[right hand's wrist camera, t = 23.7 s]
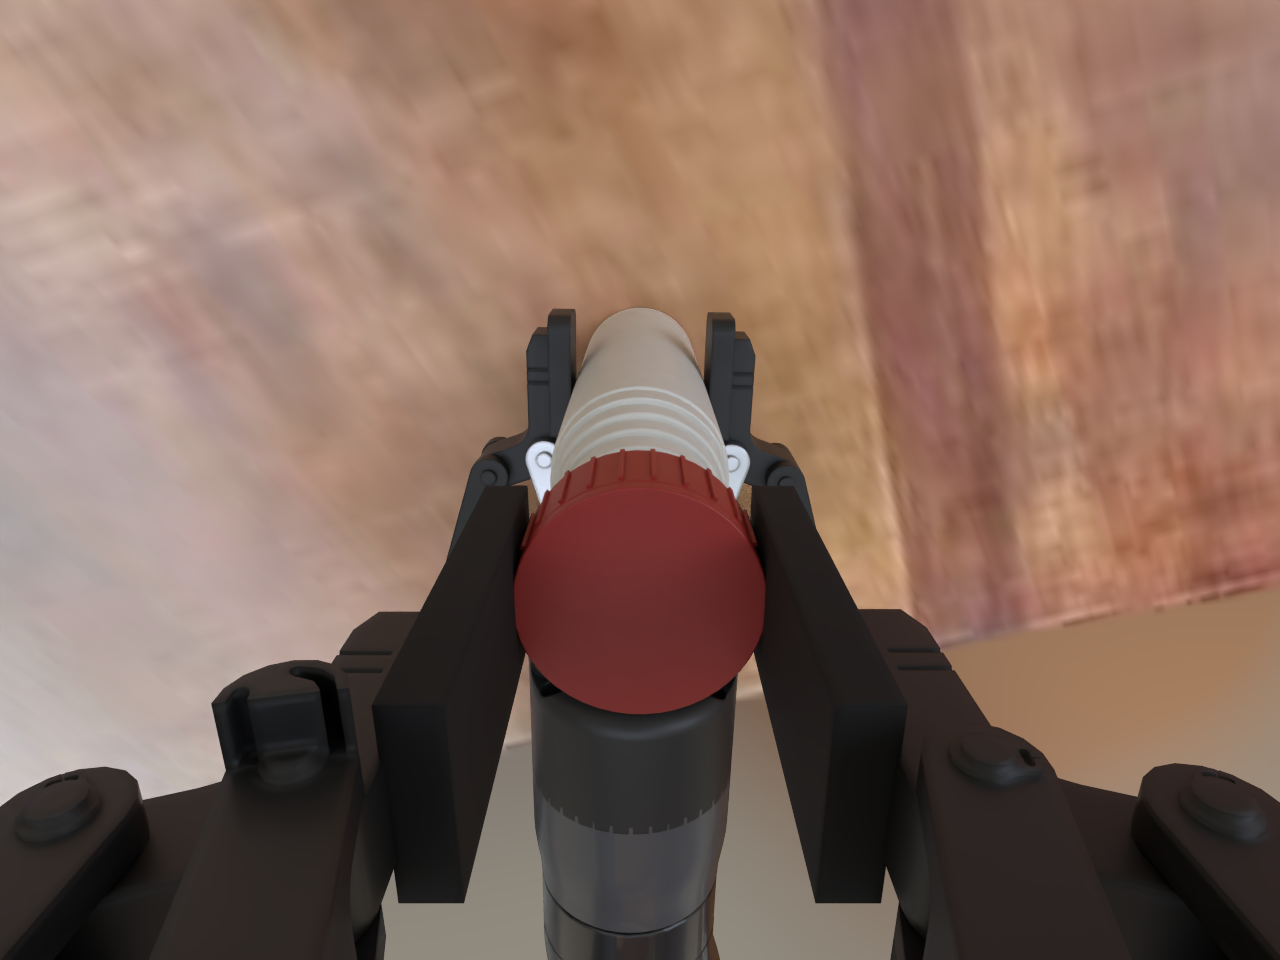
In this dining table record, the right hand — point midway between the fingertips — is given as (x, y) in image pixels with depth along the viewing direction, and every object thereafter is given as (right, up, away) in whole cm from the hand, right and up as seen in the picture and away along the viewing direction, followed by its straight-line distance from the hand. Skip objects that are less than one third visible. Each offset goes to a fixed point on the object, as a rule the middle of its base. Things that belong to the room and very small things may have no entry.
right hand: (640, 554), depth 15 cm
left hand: (0, +6, +10) cm, 12 cm away
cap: (0, -1, -2) cm, 2 cm away
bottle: (0, +6, +17) cm, 18 cm away
